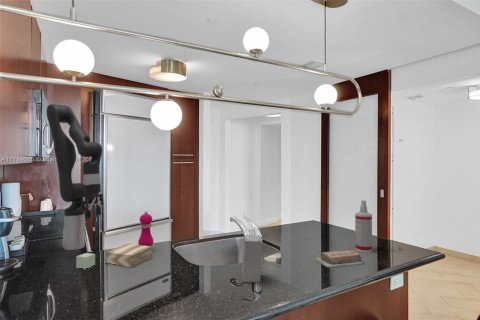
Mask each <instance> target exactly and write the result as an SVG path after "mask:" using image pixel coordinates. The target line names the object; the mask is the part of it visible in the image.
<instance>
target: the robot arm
mask: <svg viewBox="0 0 480 320" xmlns="http://www.w3.org/2000/svg"><path fill="white" fill-rule="evenodd" d="M46 118H47V122H48V125H49V129H50V133H51V137H52V142H53V149H54V155H55V160H56V165H57V172H58V181H59V184H58V185H59V194H60V197H61V199H62V200H63V202H65V203H71V204H70V205H69V206H67V207H66V208H65V209H64V211H63V212H64V213H63V216H64V217H63V218H64V219H63V220H64V222H63V223H64V224H63V226H64V227H63V229H62V249H64V251H76V250H80V249H81V250H82V249H83V248H85V243H86V242H85V240H86V239H85V227H86V225H85V223H86V222H85V220H86V219H87V220H88V219H91V218H92V212H91V208H92V207H94V206H95V215H96V216H101V215H102V206H104V195H103V193H102V187H101V186H102V185H101V182H102V181H101V175H100V163H101V158H102V156H103V155H102V154H103V148H102V145H101V144H100V143H99V142H91V137H90V135H88V133H87V132H86V131H85V130H84V129H83V127H82V126H81V124H80V122H79V120H78V118H77V115H75V113H74V111H73V110H72V108H71V107H70V106H68V105H63V104H55V103H53V104H48V105H47V106H46ZM62 123H63V124H68V125H69V128H68V134H69V136H68V135H67V134H66V133H65V132H64V130H63V129H62V126H61V124H62ZM69 137H70V138H71V139H70V138H69ZM74 144H75V145H74ZM75 146H76V148H75ZM76 149H77V152H76ZM77 153H78V154H79V155H80V156H81V157H83V158H91V159H90V160H89V161H86V162H84V163H83V164H82V169H83V176H82V177H83V178H82V182H76V183H75V182H74V183H73V179H72V173H73V169H74V167H75V164H76V160H77Z"/></svg>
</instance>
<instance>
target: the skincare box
mask: <svg viewBox="0 0 480 320" xmlns="http://www.w3.org/2000/svg"><path fill="white" fill-rule="evenodd" d="M242 253H243V254H242V270H241V274H242V275H241V276H242V280H243V282H244V283H261V275H262V256H263V255H262V253H263V241H262V237H261V235H259V234H244V236H243V252H242Z"/></svg>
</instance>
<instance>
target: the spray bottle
mask: <svg viewBox="0 0 480 320" xmlns="http://www.w3.org/2000/svg"><path fill="white" fill-rule="evenodd" d="M354 215H355V217H354V219H355V220H354V221H355V223H354V225H355V226H354V227H355V229H354V230H355V231H354V234H355V235H354V237H355V238H354V240H355V241H354V242H355V243H354V244H355V245H354V248H355V250H354V251H356V252H361V253H372V252H373V213H370V212H368V206H367V200H361V201H360V207H359V211H358V212H356V213H354Z"/></svg>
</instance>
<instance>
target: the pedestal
mask: <svg viewBox="0 0 480 320" xmlns="http://www.w3.org/2000/svg"><path fill="white" fill-rule="evenodd" d="M153 248H154V247H153V245H152V246H143V245H139V244H132V243H127V244H124V245H121V246H118V247H116V248H113V249H110V250H107V251H106V252H105V263H106V262H107V263H111V264H110V265H112V264H116V265H115V266H119V265H121V266H120V267H127V268H133V267H136V266H138V265H140V264H142V263H144V262H145V261H148V260H150V259H153V253H154V251H153Z"/></svg>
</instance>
